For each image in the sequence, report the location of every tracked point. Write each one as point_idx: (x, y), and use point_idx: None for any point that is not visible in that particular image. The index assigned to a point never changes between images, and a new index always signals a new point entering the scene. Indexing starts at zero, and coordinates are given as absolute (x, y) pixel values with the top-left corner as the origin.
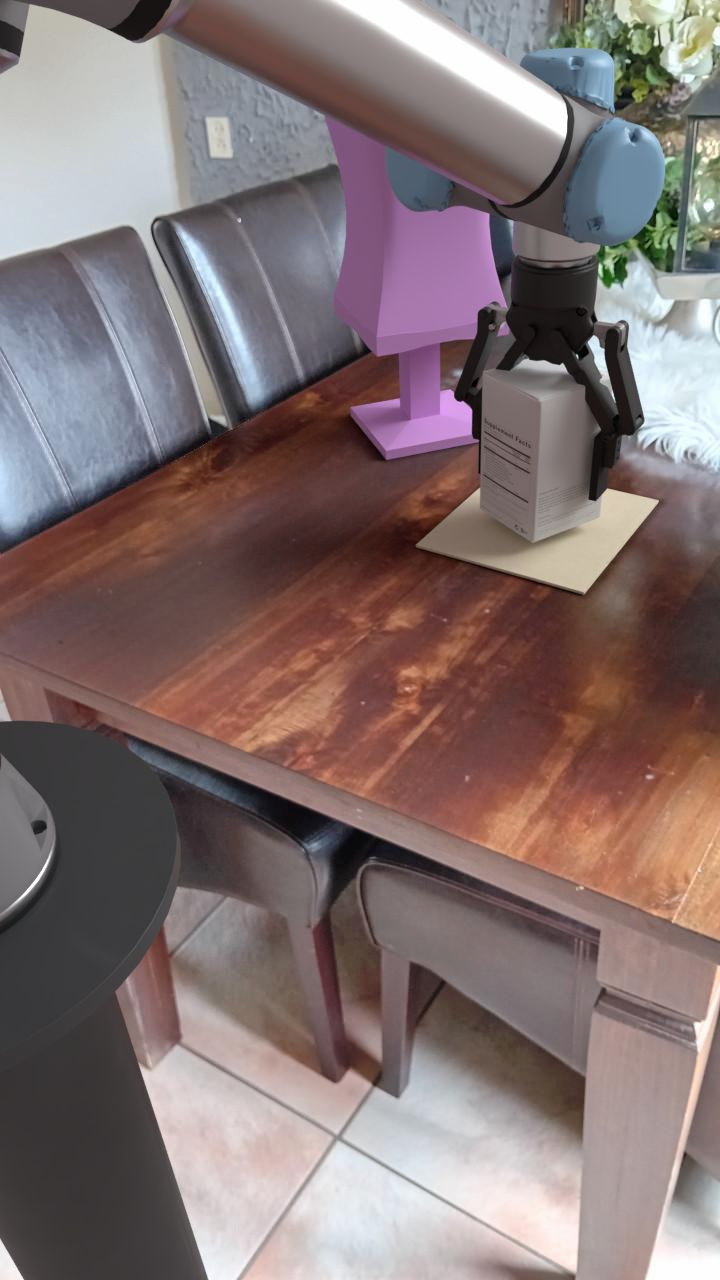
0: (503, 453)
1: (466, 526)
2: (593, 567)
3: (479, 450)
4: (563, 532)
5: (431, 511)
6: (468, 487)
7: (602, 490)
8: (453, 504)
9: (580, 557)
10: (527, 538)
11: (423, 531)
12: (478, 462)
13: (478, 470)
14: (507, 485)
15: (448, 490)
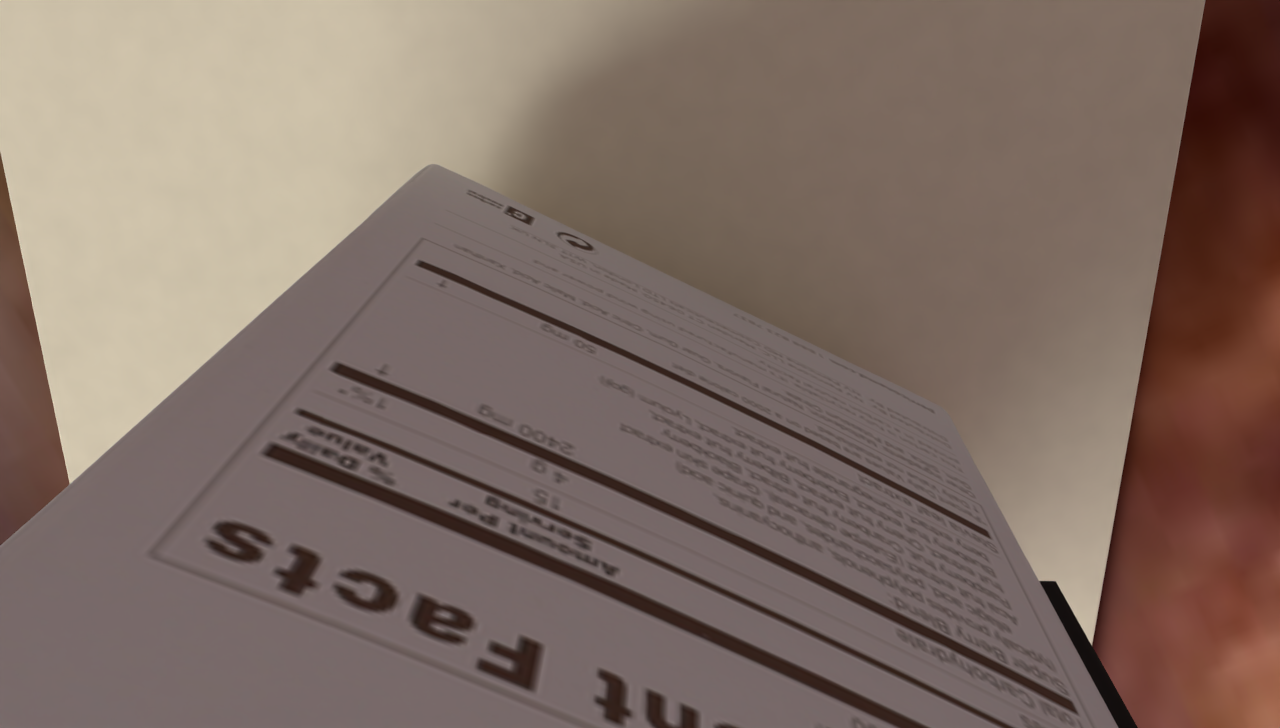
0: (764, 582)
1: (978, 275)
2: (61, 187)
3: (1123, 717)
4: None
5: (1276, 366)
6: (1150, 699)
7: None
8: (1167, 497)
9: (186, 258)
10: (467, 178)
11: (1239, 112)
12: (1089, 642)
13: (1062, 597)
14: (680, 396)
15: (1257, 626)
